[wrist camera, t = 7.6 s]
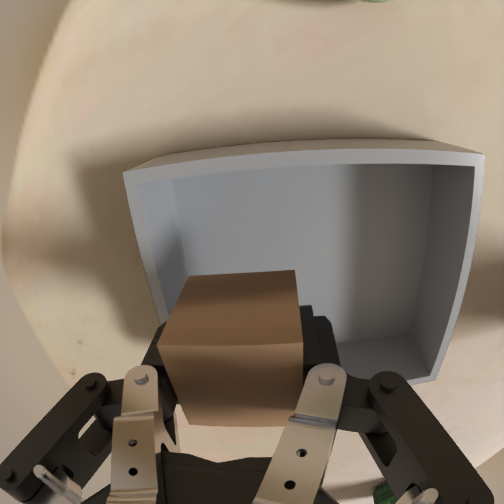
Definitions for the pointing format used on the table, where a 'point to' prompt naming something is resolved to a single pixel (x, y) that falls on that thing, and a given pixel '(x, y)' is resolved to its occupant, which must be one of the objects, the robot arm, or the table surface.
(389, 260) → the tub
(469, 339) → the table surface
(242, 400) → the block
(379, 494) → the coffee jar
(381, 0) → the ball
